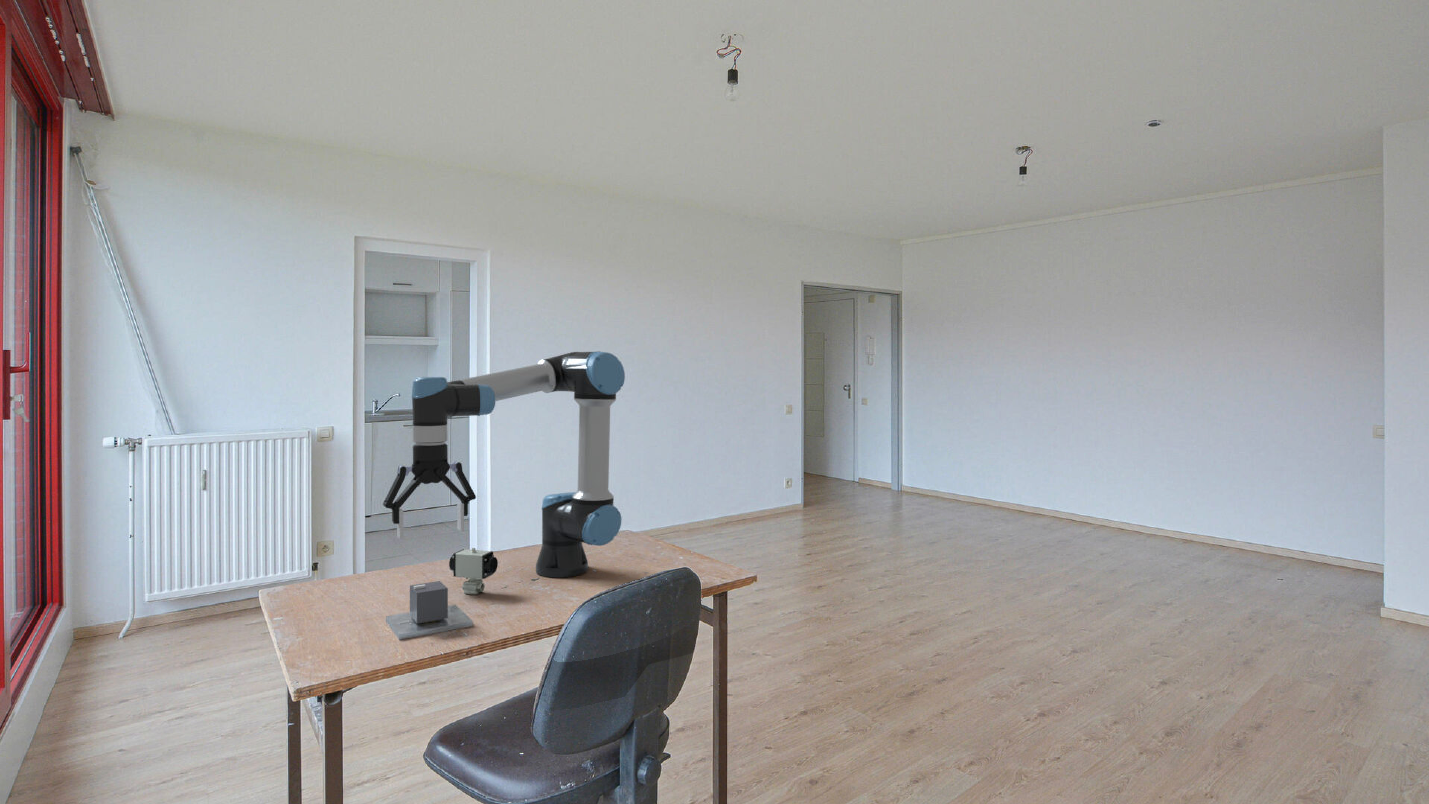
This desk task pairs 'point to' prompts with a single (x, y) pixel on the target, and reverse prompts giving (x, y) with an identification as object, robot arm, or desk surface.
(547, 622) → the desk surface
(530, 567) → the desk surface
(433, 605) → the grey cabinet with handle
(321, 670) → the desk surface
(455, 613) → the grey peg base
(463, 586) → the pneumatic valve
